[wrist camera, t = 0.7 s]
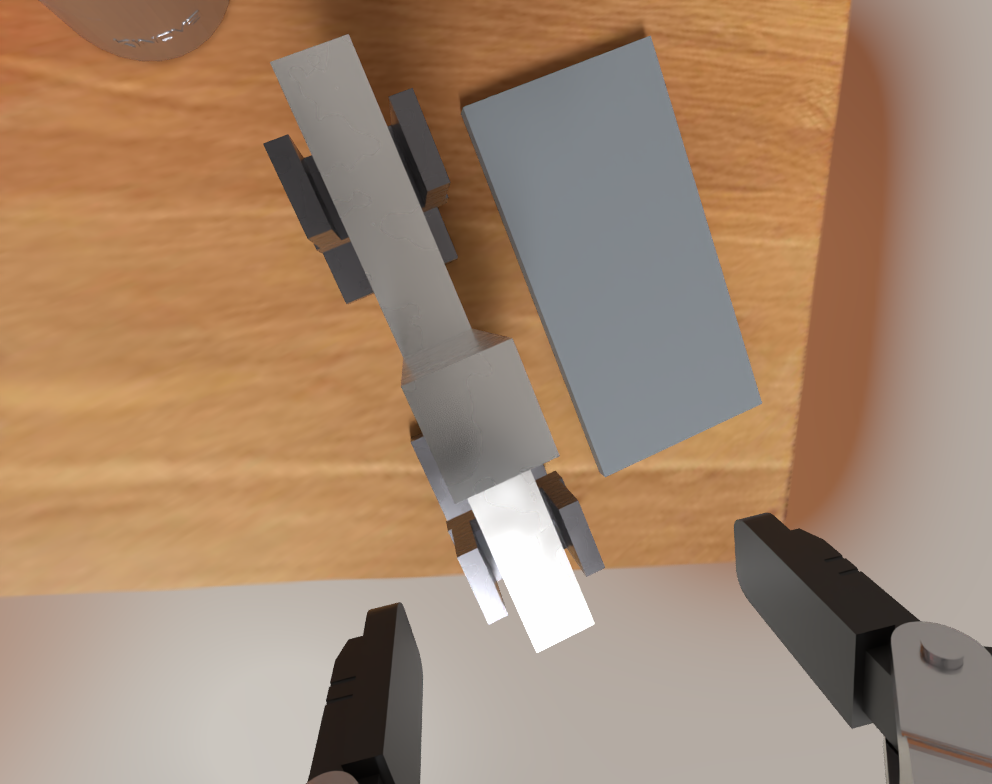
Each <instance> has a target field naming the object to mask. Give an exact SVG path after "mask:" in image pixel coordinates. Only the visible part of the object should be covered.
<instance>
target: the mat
mask: <svg viewBox="0 0 992 784" xmlns="http://www.w3.org/2000/svg"><path fill="white" fill-rule="evenodd" d="M461 115H462V118H463V120H464V123H465V125H466V128H467V131H468V133H469V136H470V138H471V141H472V143H473V146H474V149H475V151H476V154H477V156H478V159H479V162H480V164H481V167H482V169H483V172H484V174H485V177H486V180H487V182H488V185H489V187H490V190H491V193H492V195H493V198H494V200H495V203H496V206H497V208H498V211H499V213H500V216H501V218H502V221H503V224H504V226H505V229H506V231H507V234H508V237H509V239H510V242H511V244H512V247H513V250H514V252H515V255H516V257H517V260H518V262H519V265H520V268H521V270H522V273H523V275H524V278H525V281H526V283H527V286H528V288H529V291H530V293H531V296H532V299H533V301H534V304H535V306H536V309H537V312H538V314H539V317H540V319H541V322H542V325H543V327H544V330H545V332H546V335H547V337H548V340H549V343H550V345H551V348H552V350H553V353H554V356H555V358H556V361H557V363H558V366H559V369H560V371H561V374H562V376H563V379H564V381H565V384H566V387H567V389H568V392H569V394H570V397H571V400H572V402H573V405H574V407H575V410H576V413H577V415H578V418H579V420H580V423H581V425H582V428H583V431H584V433H585V436H586V438H587V441H588V444H589V446H590V449H591V451H592V454H593V456H594V459H595V462H596V464H597V467H598V469H599V472H600V473H601V474H602V475H603V476H604V477H607V476H609V475H611V474H613V473H615V472H617V471H619V470H622V469H624V468H626V467H628V466H630V465H632V464H634V463H636V462H639V461H641V460H643V459H645V458H647V457H649V456H651V455H654V454H656V453H658V452H660V451H662V450H664V449H666V448H668V447H671V446H673V445H675V444H677V443H679V442H681V441H683V440H685V439H688V438H690V437H692V436H694V435H696V434H698V433H700V432H703V431H705V430H707V429H709V428H711V427H713V426H715V425H717V424H720V423H722V422H724V421H726V420H728V419H730V418H732V417H734V416H737V415H739V414H741V413H743V412H745V411H747V410H749V409H752V408H754V407H756V406H758V405H760V404H762V401H761V398H760V395H759V391H758V388H757V385H756V382H755V378H754V375H753V372H752V368H751V365H750V362H749V359H748V355H747V352H746V349H745V345H744V342H743V339H742V336H741V332H740V329H739V326H738V322H737V319H736V316H735V312H734V309H733V306H732V303H731V299H730V296H729V293H728V289H727V286H726V283H725V280H724V276H723V273H722V270H721V266H720V263H719V260H718V256H717V253H716V250H715V247H714V243H713V240H712V237H711V233H710V230H709V227H708V224H707V220H706V217H705V214H704V210H703V207H702V204H701V200H700V197H699V194H698V191H697V187H696V184H695V181H694V177H693V174H692V171H691V168H690V164H689V161H688V158H687V154H686V151H685V148H684V144H683V141H682V138H681V135H680V131H679V128H678V125H677V121H676V118H675V115H674V112H673V108H672V105H671V102H670V98H669V95H668V92H667V88H666V85H665V82H664V79H663V75H662V72H661V69H660V65H659V62H658V59H657V56H656V52H655V49H654V46H653V42H652V39H651V36H648V37H646V38H643V39H640V40H638V41H635V42H633V43H630V44H627V45H625V46H622V47H619V48H617V49H614V50H612V51H609V52H606V53H604V54H601V55H599V56H596V57H593V58H591V59H588V60H585V61H583V62H580V63H578V64H575V65H572V66H570V67H567V68H564V69H562V70H559V71H557V72H554V73H551V74H549V75H546V76H543V77H541V78H538V79H536V80H533V81H530V82H528V83H525V84H523V85H520V86H517V87H515V88H512V89H509V90H507V91H504V92H502V93H499V94H496V95H494V96H491V97H488V98H486V99H483V100H481V101H478V102H475V103H473V104H470V105H467V106H465V107H463V109H462V112H461Z"/></svg>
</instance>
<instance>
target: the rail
mask: <svg viewBox="0 0 992 784" xmlns="http://www.w3.org/2000/svg"><path fill="white" fill-rule="evenodd" d="M270 63H271V66H272V68H273V70H274V72H275V74H276V77H277V79H278V81H279V83H280V85H281V88H282V90H283V92H284V94H285V97H286V99H287V101H288V103H289V105H290V108H291V110H292V112H293V114H294V116H295V119H296V121H297V123H298V125H299V128H300V130H301V132H302V134H303V136H304V139H305V141H306V143H307V145H308V147H309V150H310V152H311V154H312V156H313V159H314V161H315V163H316V165H317V167H318V170H319V172H320V174H321V176H322V178H323V181H324V183H325V185H326V187H327V190H328V192H329V194H330V196H331V198H332V201H333V203H334V205H335V207H336V209H337V212H338V214H339V216H340V218H341V220H342V223H343V225H344V227H345V229H346V232H347V234H348V236H349V238H350V240H351V243H352V245H353V247H354V249H355V251H356V254H357V256H358V258H359V260H360V263H361V265H362V267H363V269H364V271H365V274H366V276H367V278H368V280H369V282H370V285H371V287H372V289H373V291H374V294H375V296H376V298H377V300H378V302H379V305H380V307H381V309H382V311H383V313H384V316H385V318H386V320H387V322H388V325H389V327H390V329H391V331H392V333H393V336H394V338H395V340H396V342H397V344H398V347H399V349H400V351H401V353H402V356H403V368H402V380H401V388H402V390H403V392H404V394H405V396H406V398H407V401H408V403H409V405H410V407H411V409H412V412H413V414H414V416H415V418H416V420H417V422H418V425H419V427H420V429H421V431H422V433H423V436H424V438H425V440H426V442H427V444H428V446H429V449H430V451H431V453H432V455H433V457H434V460H435V462H436V464H437V466H438V468H439V470H440V473H441V475H442V477H443V479H444V481H445V483H446V486H447V488H448V490H449V492H450V494H451V497H452V499H453V501H454V503H455V504H457V503H459V502H461V501H463V500H465V499H468V502H469V504H470V506H471V508H472V510H473V513H474V515H475V517H476V519H477V522H478V524H479V526H480V528H481V530H482V533H483V535H484V537H485V539H486V541H487V544H488V546H489V548H490V550H491V553H492V555H493V557H494V559H495V561H496V564H497V566H498V568H499V570H500V572H501V575H502V577H503V579H504V581H505V583H506V586H507V588H508V590H509V592H510V594H511V597H512V599H513V601H514V603H515V606H516V608H517V610H518V612H519V614H520V617H521V619H522V621H523V623H524V626H525V628H526V630H527V632H528V634H529V637H530V639H531V641H532V643H533V645H534V647H535V650H536V652H537V653H538V652H539V651H542V650H543V649H545V648H548V647H550V646H552V645H554V644H555V643H558V642H560V641H562V640H564V639H566V638H568V637H569V636H572V635H574V634H576V633H577V632H580V631H582V630H584V629H586V628H588V627H590V626H592V625H594V624H595V623H594V621H593V618H592V616H591V614H590V612H589V609H588V607H587V604H586V602H585V599H584V597H583V595H582V592H581V590H580V587H579V585H578V582H577V580H576V578H575V575H574V573H573V570H572V568H571V566H570V563H569V561H568V559H567V556H566V554H565V551H564V549H563V547H562V544H561V542H560V539H559V537H558V535H557V532H556V530H555V527H554V525H553V523H552V520H551V518H550V515H549V513H548V511H547V508H546V506H545V503H544V501H543V499H542V496H541V494H540V491H539V489H538V487H537V484H536V482H535V479H534V477H533V475H532V472H531V469H533V468H535V467H537V466H539V465H541V464H544V463H546V462H548V461H550V460H552V459H554V458H557V457H559V453H558V451H557V448H556V446H555V443H554V441H553V438H552V436H551V433H550V431H549V428H548V426H547V423H546V421H545V418H544V416H543V413H542V411H541V408H540V406H539V404H538V401H537V399H536V396H535V394H534V391H533V389H532V386H531V384H530V381H529V379H528V376H527V374H526V371H525V369H524V366H523V364H522V361H521V359H520V356H519V354H518V351H517V349H516V346H515V344H514V341H513V339H512V338H509V337H505V336H501V335H497V334H493V333H489V332H484V331H480V330H476V329H472V328H471V326H470V324H469V321H468V319H467V316H466V314H465V312H464V309H463V307H462V305H461V302H460V300H459V297H458V295H457V293H456V290H455V288H454V285H453V283H452V281H451V278H450V276H449V273H448V271H447V269H446V266H445V264H444V261H443V259H442V257H441V254H440V252H439V249H438V247H437V245H436V242H435V240H434V237H433V235H432V233H431V230H430V228H429V225H428V223H427V221H426V218H425V216H424V213H423V211H422V209H421V206H420V204H419V201H418V199H417V197H416V194H415V192H414V189H413V187H412V185H411V182H410V180H409V178H408V175H407V173H406V170H405V168H404V166H403V163H402V161H401V158H400V156H399V154H398V151H397V149H396V146H395V144H394V142H393V139H392V137H391V134H390V132H389V130H388V127H387V125H386V122H385V120H384V118H383V115H382V113H381V110H380V108H379V106H378V103H377V101H376V98H375V96H374V94H373V91H372V89H371V86H370V84H369V82H368V79H367V77H366V74H365V72H364V70H363V67H362V65H361V62H360V60H359V58H358V55H357V53H356V50H355V48H354V46H353V43H352V41H351V39H350V36H349V34H347V35H345V36H342V37H339V38H336V39H333V40H331V41H328V42H325V43H322V44H319V45H317V46H314V47H311V48H308V49H305V50H303V51H300V52H297V53H294V54H292V55H289V56H286V57H283V58H280V59H278V60H275V61H272V62H270Z"/></svg>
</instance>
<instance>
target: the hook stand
mask: <svg viewBox="0 0 992 784" xmlns="http://www.w3.org/2000/svg"><path fill="white" fill-rule="evenodd" d="M389 107H390V118H391V125H390V126H388V130H389V132H390V134H391V137H392V139H393V142H394V144H395V146H396V149H397V151H398V154H399V156H400V158H401V161H402V163H403V166H404V168H405V170H406V173H407V175H408V178H409V180H410V182H411V185H412V187H413V189H414V192H415V194H416V197H417V199H418V201H419V204H420V206H421V209H422V211H423V213H424V216H425V218H426V221H427V223H428V225H429V228H430V230H431V233H432V235H433V237H434V240H435V242H436V245H437V247H438V249H439V252H440V254H441V257H442V259H443V261H444V264H447V263H449V262H452V261H454V260H456V259H457V258H458V256H457V254H456V251H455V249H454V246H453V244H452V242H451V239H450V237H449V234H448V232H447V229H446V227H445V224H444V222H443V220H442V217H441V215H440V212H439V210H438V206H441V205H443V204H446V203H447V201H448V198H449V197H448V195H447V191H448V188H449V185H450V180H449V178H448V175H447V173H446V170H445V168H444V165H443V163H442V160H441V158H440V155H439V153H438V150H437V148H436V145H435V143H434V140H433V138H432V135H431V133H430V130H429V128H428V125H427V123H426V120H425V118H424V115H423V113H422V110H421V108H420V105H419V103H418V100H417V98H416V95H415V93H414V90H413V88H411V89H408V90H405V91H403V92H400V93H397V94H395V95H392V96H389ZM263 145H264V147H265V149H266V151H267V153H268V155H269V157H270V159H271V162H272V164H273V166H274V168H275V170H276V172H277V174H278V177H279V179H280V181H281V183H282V185H283V187H284V189H285V191H286V194H287V196H288V198H289V200H290V202H291V204H292V206H293V209H294V211H295V213H296V215H297V217H298V219H299V221H300V223H301V226H302V228H303V230H304V232H305V234H306V236H307V238H308V239H309V240H310V241H311V242H313V243H314V245H315V247H316V249H317V251H319V252H320V253H323V255H324V257H325V259H326V261H327V263H328V265H329V268H330V270H331V272H332V274H333V276H334V278H335V280H336V283H337V285H338V287H339V289H340V291H341V293H342V295H343V298H344V300H345V302H346V304H350V303H352V302H354V301H357V300H359V299H362V298H364V297H367V296H369V295H371V294H374V291H373V289H372V287H371V285H370V282H369V280H368V278H367V276H366V274H365V271H364V269H363V267H362V265H361V263H360V260H359V258H358V256H357V254H356V251H355V249H354V247H353V245H352V243H351V240H350V238H349V236H348V234H347V232H346V229H345V227H344V225H343V223H342V220H341V218H340V216H339V214H338V212H337V209H336V207H335V205H334V203H333V201H332V198H331V196H330V194H329V192H328V190H327V187H326V185H325V183H324V181H323V178H322V176H321V174H320V172H319V170H318V167H317V165H316V163H315V161H314V159H313V156H312V155H311V156H309V157H306V158H304V157H303V156H302V154H301V153H300V151H299V150H298V148H297V147H296V145H295V144H294V142H293V141H292V139H291V138H290V136H289V135H285V136H282V137H280V138H277V139H274V140H272V141H269V142H266V143H264V144H263ZM411 444H412V446H413V448H414V450H415V452H416V454H417V457H418V459H419V461H420V463H421V465H422V467H423V469H424V472H425V474H426V476H427V478H428V480H429V482H430V484H431V487H432V489H433V491H434V493H435V495H436V497H437V500H438V502H439V504H440V506H441V508H442V510H443V512H444V515H445V517H446V519H447V521H446V523H447V528H448V532H449V534H450V536H451V538H452V540H453V543H454V545H455V549H456V554H457V558H458V560H459V562H460V565H461V567H462V569H463V571H464V573H465V575H466V577H467V580H468V581H469V584H470V586H471V588H472V590H473V592H474V594H475V597H476V599H477V601H478V603H479V605H480V607H481V609H482V611H483V614H484V616H485V618H486V620H487V622H488V624H491V623H493V622H495V621H497V620H499V619H501V618H503V617H505V616H507V615H508V614H507V611H506V608H505V605H504V602H503V599H502V596H501V593H500V590H499V587H498V584H497V581H498V580H501V579H503V577H502V575H501V572H500V570H499V568H498V566H497V564H496V561H495V559H494V557H493V555H492V553H491V550H490V548H489V546H488V544H487V541H486V539H485V537H484V535H483V533H482V530H481V528H480V526H479V524H478V522H477V519H476V517H475V515H474V513H473V510H472V508H471V506H470V504H469V502H468V499H465V500H463V501H461V502H459V503H457V504H455V503H454V501H453V499H452V497H451V494H450V492H449V490H448V488H447V486H446V483H445V481H444V479H443V477H442V475H441V473H440V470H439V468H438V466H437V464H436V462H435V460H434V457H433V455H432V453H431V451H430V449H429V446H428V444H427V442H426V440H425V438H424V436H423V433H421V434H419V435H417V436H415V437H412V438H411ZM531 472H532V475H533V477H534V479H535V482H536V484H537V487H538V489H539V491H540V494H541V496H542V499H543V501H544V503H545V506H546V508H547V511H548V513H549V515H550V518H551V520H552V523H553V525H554V527H555V530H556V532H557V535H558V537H559V539H560V542H561V544H562V547H563V549H565V548H567V549H568V550H569V552H570V553H571V555H572V556H573V558H574V559H575V561H576V562H577V564H578V565H579V567H580V568H581V570H582V571H583V573H584V574H585V575H586V577H587V576H589V575H591V574H593V573H595V572H597V571H599V570H602V569H604V568H605V566H604V564H603V561H602V559H601V556H600V554H599V551H598V549H597V546H596V544H595V541H594V539H593V536H592V534H591V531H590V529H589V526H588V524H587V522H586V519H585V517H584V514H583V512H582V509H581V507H580V504H579V502H578V500H577V499H576V498H575V497H574V495H573V494H572V493H571V492H570V491H569V490H568V489H567V488H566V486H565V484H564V481H563V479H562V477H561V476H560V475H559V474H558V473H557V472H556V471H554V472H552V473H549V474H547V473H546V470H545V468H544V466H543V464H541V465H539V466H537V467H535V468H533V469H531Z"/></svg>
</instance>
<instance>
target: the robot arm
mask: <svg viewBox="0 0 992 784" xmlns="http://www.w3.org/2000/svg"><path fill="white" fill-rule="evenodd" d="M39 1H40V2H41V3H42V4H44V5H45V6H46V7H47V8H48V9H49V10H51V11H52V12H53V13H54V14H55V15H57V16H58V17H59V18H60V19H61V20H62V21H64V22H65V23H66V24H67V25H68V26H70V27H71V28H72V29H73V30H74V31H75V32H77V33H78V34H79V35H80V36H81V37H83V38H85V39H86V40H88V41H89V42H91V43H92V44H94V45H95V46H97V47H99V48H100V49H103V50H105V51H107V52H110V53H112V54H115V55H117V56H120V57H124V58H129V59H133V60H138V61H163V60H168V59H172V58H177V57H180V56H182V55H184V54H187V53H189V52H191V51H193V50H195V49H197V48H198V47H199V46H200V45H201V44H203V43H204V42H205V41H206V40H207V39H208V38H210V37H211V35H212V34H213V33H214V31H215V30H216V29H217V27H218V26H219V24H220V23H221V21H222V19H223V16H224V14H225V11H226V9H227V6H228V4H229V0H39ZM734 538H735V556H736V572H737V577H738V581H739V584H740V586H741V589H742V591H743V593H744V594H745V596H746V598H747V599H748V601H749V602H750V603H751V604H752V606H753V607H754V608H755V609H756V611H757V612H758V613H759V614H760V616H761V617H762V618H763V619H764V620H765V622H766V623H767V624H768V625H769V627H770V628H771V629H772V630H773V632H774V633H775V634H776V635H777V637H778V638H779V639H780V640H781V642H782V643H783V644H784V645H785V647H786V648H787V649H788V650H789V652H790V653H791V654H792V655H793V656H794V658H795V659H796V660H797V661H798V663H799V664H800V665H801V666H802V668H803V669H804V670H805V671H806V672H807V674H808V675H809V676H810V678H811V679H812V680H813V681H814V683H815V684H816V685H817V686H818V687H819V689H820V690H821V691H822V692H823V694H824V695H825V696H826V697H827V699H828V700H829V701H830V702H831V703H832V705H833V706H834V707H835V709H836V710H837V711H838V712H839V714H840V715H841V716H842V717H843V718H844V720H845V721H846V722H847V723H848V725H849V726H850V727H851V728H856V727H860V726H863V725H867V724H871V723H874V724H875V726H876V727H877V728H878V729H879V730H880V731H881V733H882V734H883V735H884V738H883V753H884V765H885V777H886V784H992V647H983V646H982V645H981V644H980V643H978V642H977V641H976V640H974V639H973V638H971V637H970V636H968V635H966V634H964V633H962V632H960V631H958V630H956V629H954V628H951V627H948V626H945V625H941V624H937V623H931V622H921V621H920V620H918V619H917V618H916V617H915V616H914V615H913V614H911V613H910V612H909V611H908V610H907V609H905V608H904V607H903V606H902V605H901V604H899V603H898V602H897V601H896V600H895V599H893V598H892V597H891V596H890V595H889V594H887V593H886V592H885V591H884V590H883V589H881V588H880V587H879V586H878V585H877V584H876V583H874V582H873V581H872V580H871V579H870V578H869V577H867V576H866V575H865V574H864V573H863V572H859V571H858V569H857V567H855V566H854V565H853V564H852V563H851V562H850V561H848V560H847V559H844V558H843V557H842V555H841V554H840V553H839V552H838V551H837V550H835V549H834V548H833V547H832V546H831V545H829V544H828V543H827V542H826V541H825V540H823V539H821V538H819V537H817V536H815V535H812V534H810V533H808V532H806V531H804V530H802V529H795V530H789V529H788V528H787V527H786V526H785V525H784V524H783V523H782V522H781V521H779V520H778V519H777V518H776V517H775V516H774V515H772V514H771V513H763V514H759V515H755V516H751V517H747V518H743V519H739V520H736V521H735V524H734ZM330 683H331V687H329V690H328V695H327V699H326V702H327V705H326V706H325V708H324V713H323V717H322V721H321V726H320V730H319V735H318V740H317V744H316V748H315V752H314V757H313V761H312V766H311V770H310V775H309V778H308V782H307V783H306V784H420V767H421V732H422V731H421V730H422V697H423V672H422V664H421V658H420V654H419V650H418V647H417V645H416V641H415V638H414V636H413V633H412V630H411V627H410V624H409V621H408V618H407V615H406V612H405V610H404V607H403V605H402V603H400V602H399V603H395V604H391V605H387V606H383V607H379V608H375V609H371V610H369V611H368V612H367V617H366V622H365V628H364V634H363V636H360V637H356V638H352V639H349V640H348V641H347V643H346V644H345V646H344V647H343V649H342V651H341V652H340V654H339V655H338V657H337V659H336V660H335V664H334V668H333V673H332V677H331V681H330Z"/></svg>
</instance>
